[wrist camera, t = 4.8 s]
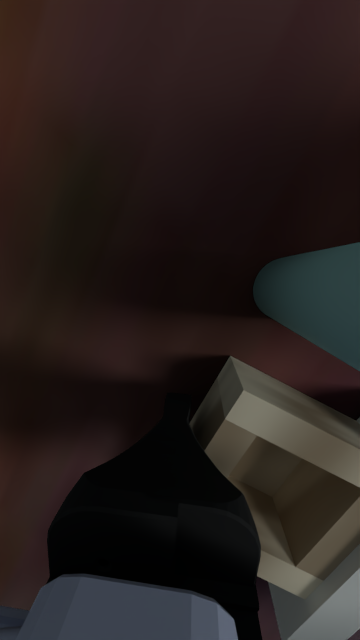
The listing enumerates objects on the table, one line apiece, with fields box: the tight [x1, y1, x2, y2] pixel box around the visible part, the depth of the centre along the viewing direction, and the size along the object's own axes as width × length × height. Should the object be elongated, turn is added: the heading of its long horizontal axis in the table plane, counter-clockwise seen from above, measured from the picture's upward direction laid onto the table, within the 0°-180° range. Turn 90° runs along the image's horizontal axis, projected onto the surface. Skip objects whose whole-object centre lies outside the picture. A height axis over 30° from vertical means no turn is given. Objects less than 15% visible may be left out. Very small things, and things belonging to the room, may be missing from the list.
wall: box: [268, 417, 360, 640], centre depth 11 cm, size 2×12×4 cm, turn 153°
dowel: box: [253, 242, 360, 371], centre depth 7 cm, size 3×3×8 cm
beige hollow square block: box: [189, 356, 360, 599], centre depth 11 cm, size 8×8×4 cm
